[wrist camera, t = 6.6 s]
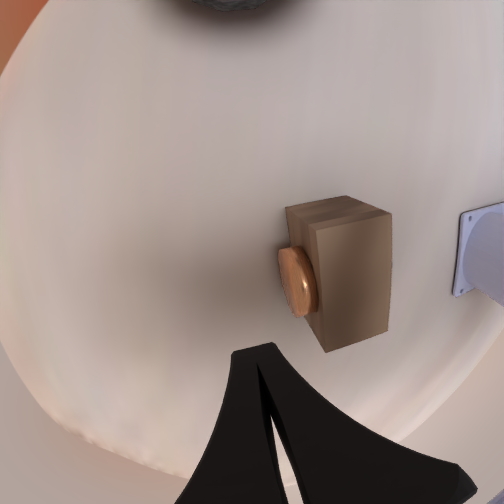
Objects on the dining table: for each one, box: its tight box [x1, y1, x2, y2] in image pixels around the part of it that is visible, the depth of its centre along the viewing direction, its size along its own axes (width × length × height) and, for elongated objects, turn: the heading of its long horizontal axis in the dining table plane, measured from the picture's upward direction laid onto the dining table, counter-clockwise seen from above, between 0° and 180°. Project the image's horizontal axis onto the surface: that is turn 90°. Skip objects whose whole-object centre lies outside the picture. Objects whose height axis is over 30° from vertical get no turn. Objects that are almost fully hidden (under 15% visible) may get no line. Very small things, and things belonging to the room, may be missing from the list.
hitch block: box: [285, 196, 392, 353], centre depth 16 cm, size 4×7×5 cm, turn 11°
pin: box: [278, 245, 318, 317], centre depth 16 cm, size 6×4×4 cm, turn 101°
